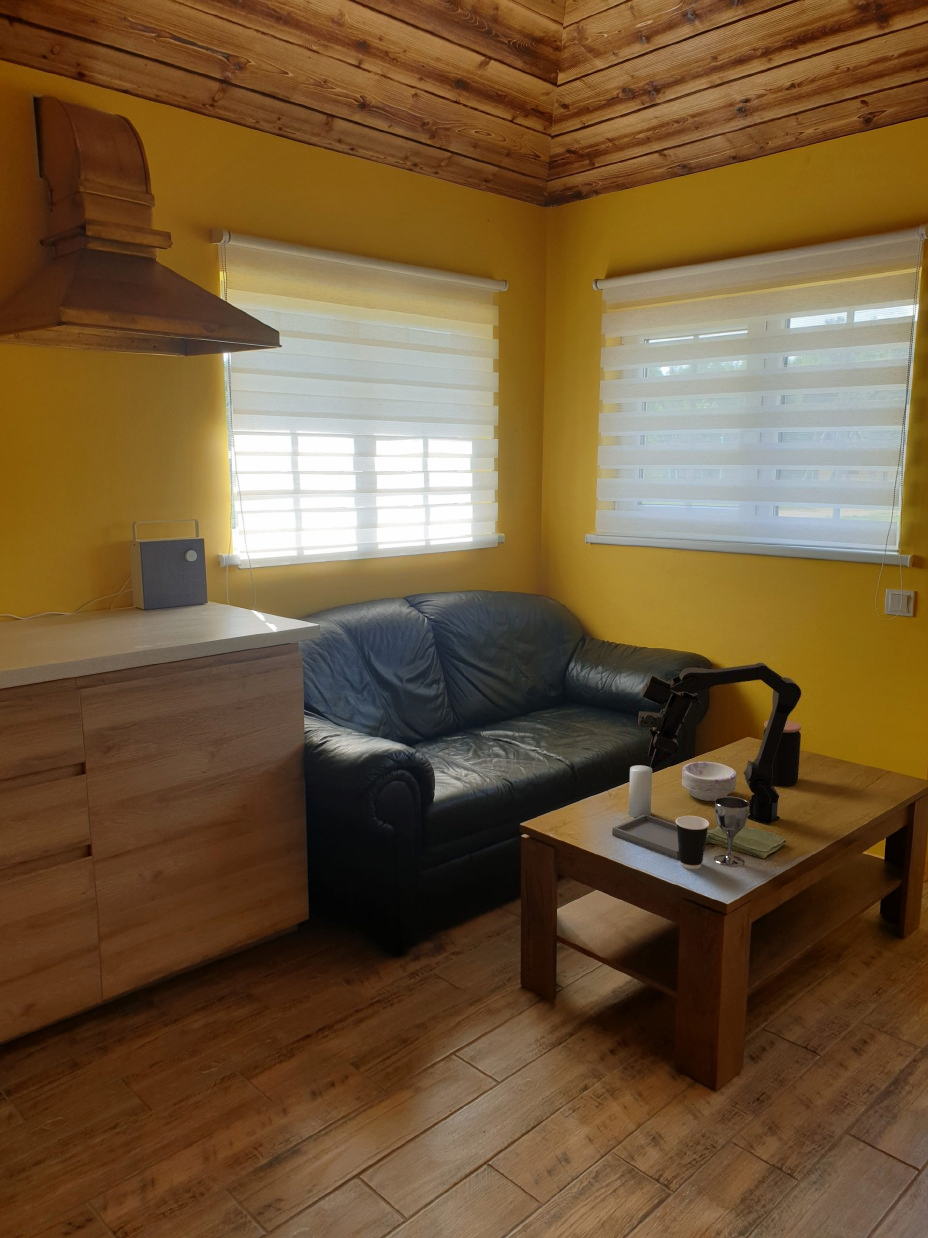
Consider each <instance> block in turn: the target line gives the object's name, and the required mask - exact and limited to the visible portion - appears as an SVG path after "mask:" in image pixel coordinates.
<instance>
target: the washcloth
mask: <svg viewBox="0 0 928 1238" xmlns="http://www.w3.org/2000/svg"><path fill="white" fill-rule="evenodd" d="M707 835H708V836H709V843H708V844H712V845H716V846H718V847H721V848H726V849H727V850H728V840H727V836H726V834H725V833H724V832H723V830H722V829H721V828H720V827H719V825H718V824H717V825H716V827H714V828H711V829H709V830H707ZM785 844H787V839H786V838H785V837H783V836H781V835H778V834H776V833H774V832H771V831H767V830H763V829H759V828H755V827H750V826H748V825H745V827H744V828H743V829H742V830H741V831H740V832H738V833H737V834H736V835H735V837H734V839H733V842H732V848H731V851H737V852H739V853H743V854H748V855H751V856H754V857H756V858H760V859H764V860H765V859H766V857H768V856H769V855H771V854H772V853H774V852H776V851H777V850H780V848H781V847H782V846H783V845H785Z"/></svg>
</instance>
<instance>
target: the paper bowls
mask: <svg viewBox="0 0 928 1238" xmlns="http://www.w3.org/2000/svg"><path fill="white" fill-rule="evenodd" d="M681 773H682V775H681V785H682V786H683V788H684V789H686V790H688V792H689V794H690V796H692V797H693V798H695V799H697V800H701V801H706V802H715V800H716V799H717V798H719V797H724V796H729V794H731V793H734V792H735V790H736V788H737V787H736V786H737V772H736V770H735V769H734V768H732V767H730V766H728V765H726V764H723V763H719V762H714V761H713V762H711V761H695V762H694V761H692V762H690V763H687V764H685V765H684V766H683V767H682V771H681Z"/></svg>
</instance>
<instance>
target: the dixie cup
mask: <svg viewBox="0 0 928 1238" xmlns="http://www.w3.org/2000/svg"><path fill="white" fill-rule="evenodd" d="M675 824H676V825H677V834H678V848H679V858H678V860H679V862H680V866H681V867H683V868H685V869H689V870H696V869H699V868H701V866H702V863H703V860H704V853H705V848H706V845H705V842H706V836H707V831H709V830H708V829H709V827H710V822H709V820H707V819H705V818H703V817H701V816H697V815H682V816H680V817H677V818H675Z"/></svg>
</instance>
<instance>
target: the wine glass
mask: <svg viewBox="0 0 928 1238" xmlns="http://www.w3.org/2000/svg"><path fill="white" fill-rule="evenodd" d="M749 805H750V801H748V800H746V799H744V798H742V797H737V796H729V795H727V796H724V797H719V798H717V799H716V800H715V801H714V813H715V814H714V816H715V819H716V823H717V826H718V825H719V827H720V828H721V829H722V830H723V832H724V833H725V834H726V836H727V840H728V849H727V853H721V854H717V855H715V856H714V857H713V860H714V861H715V862H716V863H717V864H719V865H722V866H724V867H730V868H734V867H735V868H736V867H737V868H738V867H741V866H742V865H745V860H744V859H743V858H742V857H740V856H738V855H735V854H732V850H731V848H732V842H733V839H734V837H735V835H736V834H737V833H738V832H740V831H741V830H742V829H743V828H744V827H745V826H747V823H748V819H749V818H748V815H750V814H749Z"/></svg>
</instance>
